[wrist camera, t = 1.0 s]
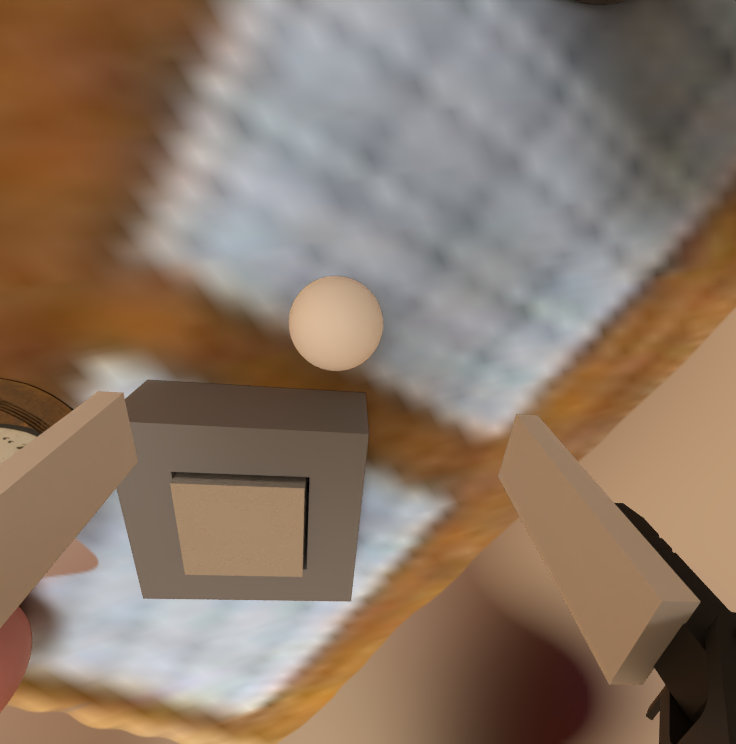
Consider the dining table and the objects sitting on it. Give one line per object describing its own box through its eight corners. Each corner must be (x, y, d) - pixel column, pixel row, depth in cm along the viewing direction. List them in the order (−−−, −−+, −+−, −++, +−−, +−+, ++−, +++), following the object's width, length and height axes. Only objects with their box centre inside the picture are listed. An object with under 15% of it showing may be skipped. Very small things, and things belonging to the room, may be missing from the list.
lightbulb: (299, 325, 32) (277, 379, 22) (306, 253, 30) (285, 278, 20) (368, 335, 33) (377, 392, 23) (381, 266, 30) (396, 296, 20)
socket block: (365, 392, 35) (368, 434, 29) (350, 543, 43) (350, 601, 37) (147, 379, 34) (100, 420, 27) (174, 538, 42) (143, 598, 35)
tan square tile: (308, 464, 32) (304, 488, 30) (305, 549, 36) (302, 576, 34) (185, 459, 31) (169, 483, 29) (197, 546, 36) (184, 574, 33)
